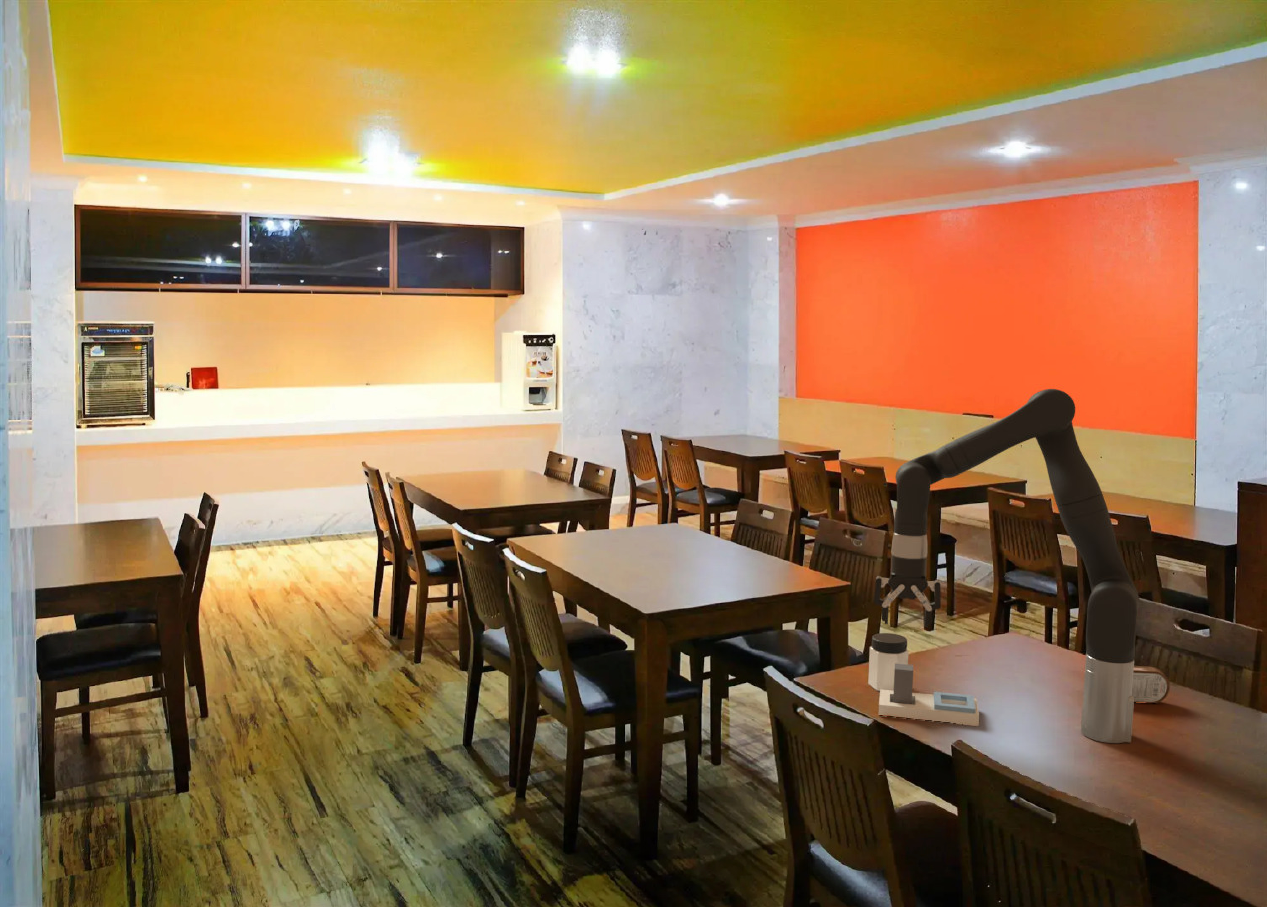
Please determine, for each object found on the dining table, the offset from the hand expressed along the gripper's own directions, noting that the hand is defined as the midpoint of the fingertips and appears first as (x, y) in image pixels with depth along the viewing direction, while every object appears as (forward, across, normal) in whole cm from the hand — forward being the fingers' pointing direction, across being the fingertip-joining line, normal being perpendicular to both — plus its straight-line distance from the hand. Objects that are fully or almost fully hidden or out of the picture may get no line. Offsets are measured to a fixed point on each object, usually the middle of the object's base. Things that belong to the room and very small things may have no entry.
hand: (905, 624), depth 227 cm
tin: (+20, -52, -20) cm, 59 cm away
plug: (+20, 0, 0) cm, 20 cm away
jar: (+20, +3, -15) cm, 25 cm away
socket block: (+20, -6, 0) cm, 21 cm away
